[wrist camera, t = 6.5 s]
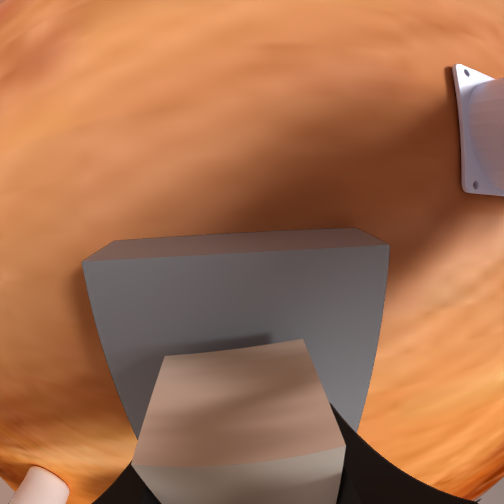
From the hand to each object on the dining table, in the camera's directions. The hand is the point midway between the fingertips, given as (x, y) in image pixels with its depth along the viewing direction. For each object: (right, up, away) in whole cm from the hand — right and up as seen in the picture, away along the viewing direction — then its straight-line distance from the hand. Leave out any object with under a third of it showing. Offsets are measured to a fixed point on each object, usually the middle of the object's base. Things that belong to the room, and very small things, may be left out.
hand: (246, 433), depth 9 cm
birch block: (0, +1, +1) cm, 2 cm away
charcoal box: (0, +2, +7) cm, 7 cm away
